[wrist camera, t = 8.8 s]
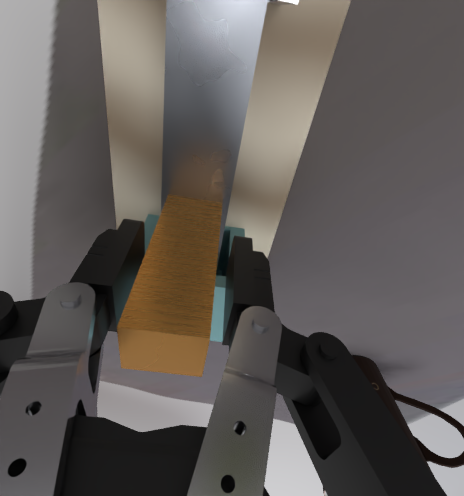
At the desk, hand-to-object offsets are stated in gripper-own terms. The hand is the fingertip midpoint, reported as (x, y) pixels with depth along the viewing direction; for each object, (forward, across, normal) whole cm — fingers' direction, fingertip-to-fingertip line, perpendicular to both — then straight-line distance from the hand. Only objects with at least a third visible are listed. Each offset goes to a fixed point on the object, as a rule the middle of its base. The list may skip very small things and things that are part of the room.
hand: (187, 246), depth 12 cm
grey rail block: (+5, 0, -3) cm, 6 cm away
